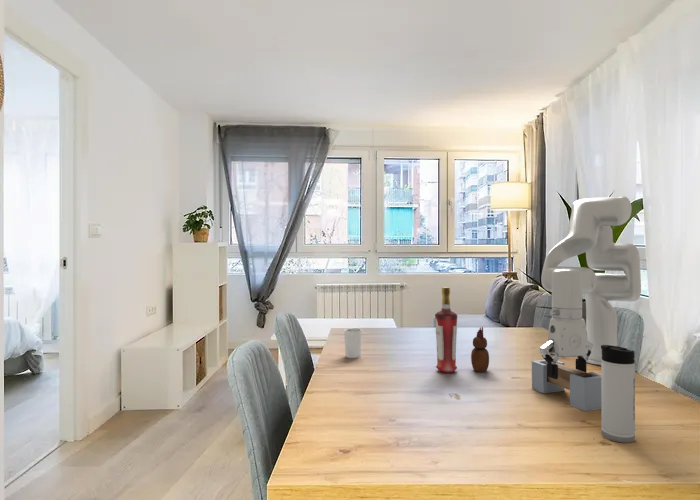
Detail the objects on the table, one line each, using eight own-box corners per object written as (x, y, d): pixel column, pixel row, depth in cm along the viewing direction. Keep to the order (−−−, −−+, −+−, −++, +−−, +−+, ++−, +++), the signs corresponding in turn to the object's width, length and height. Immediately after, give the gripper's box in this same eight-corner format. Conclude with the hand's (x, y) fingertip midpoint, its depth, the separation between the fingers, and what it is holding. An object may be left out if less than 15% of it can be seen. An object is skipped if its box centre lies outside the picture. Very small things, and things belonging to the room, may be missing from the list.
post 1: (552, 385, 132) (552, 358, 132) (564, 390, 128) (564, 362, 128) (531, 388, 130) (531, 361, 130) (543, 393, 126) (543, 365, 125)
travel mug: (593, 431, 100) (593, 342, 100) (621, 430, 100) (621, 342, 100) (612, 443, 94) (612, 349, 93) (642, 442, 94) (641, 348, 94)
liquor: (433, 368, 152) (433, 286, 152) (455, 368, 152) (454, 286, 152) (437, 374, 145) (436, 288, 145) (459, 374, 145) (459, 288, 144)
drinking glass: (362, 354, 173) (362, 328, 173) (361, 358, 166) (360, 331, 166) (345, 353, 173) (345, 328, 173) (343, 358, 167) (343, 331, 167)
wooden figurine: (490, 373, 145) (489, 328, 145) (471, 372, 146) (471, 327, 146) (488, 368, 152) (487, 324, 152) (470, 367, 153) (470, 323, 153)
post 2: (584, 411, 112) (584, 379, 112) (569, 404, 116) (569, 374, 116) (607, 407, 114) (607, 376, 114) (592, 401, 119) (591, 371, 119)
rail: (552, 378, 129) (552, 361, 129) (592, 393, 116) (592, 374, 116) (543, 379, 128) (543, 362, 128) (582, 395, 115) (582, 375, 115)
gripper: (551, 317, 116) (551, 383, 116) (602, 314, 121) (603, 376, 121) (531, 313, 123) (531, 375, 123) (580, 310, 128) (580, 369, 128)
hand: (567, 376), depth 122 cm, fingers open, 9 cm apart
